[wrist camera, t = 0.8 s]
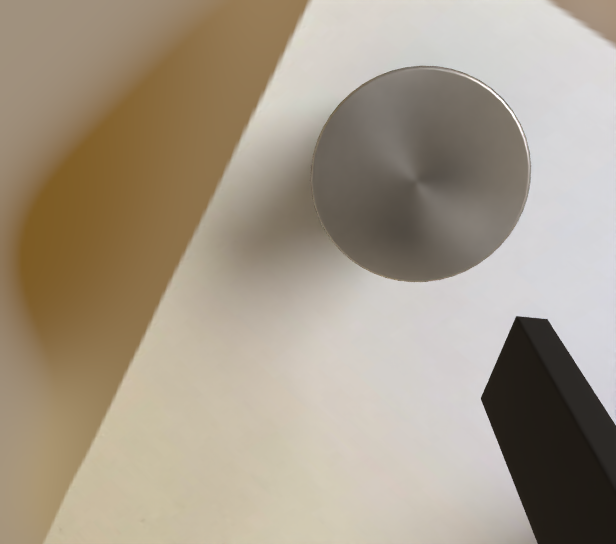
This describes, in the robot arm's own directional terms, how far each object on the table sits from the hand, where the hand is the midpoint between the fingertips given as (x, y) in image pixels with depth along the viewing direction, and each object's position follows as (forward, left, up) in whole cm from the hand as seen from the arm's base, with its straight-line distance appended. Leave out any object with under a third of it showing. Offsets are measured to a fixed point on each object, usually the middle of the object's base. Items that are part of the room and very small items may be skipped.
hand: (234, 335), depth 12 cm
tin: (-4, +3, -15) cm, 16 cm away
